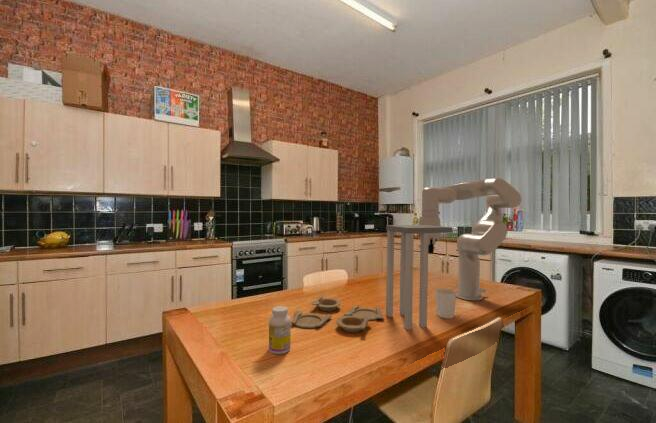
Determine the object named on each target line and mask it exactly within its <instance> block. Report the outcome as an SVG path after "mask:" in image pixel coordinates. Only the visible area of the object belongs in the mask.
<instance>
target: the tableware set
mask: <svg viewBox="0 0 656 423" xmlns="http://www.w3.org/2000/svg"><path fill="white" fill-rule="evenodd" d="M311 305H314V306H317V307H318V308H319V309H320V310H321V311H323V312H332V311H335V310H336V308H337V307H338V308H339V306H341V305H342V302H341V301H340V300H339V299H336V298H331V297H324V295H322V294H320V295H319V296H318V297H317V299H316V300H313V301H311ZM293 315H294V316H293V317H292V318H291V325H294V326H295V327H298V328H301V329H316V328H320V327H323V326H325V324H326V323H327V321H328V320H330V319H331V318H332V316H333V314H329V313H328V314H326V315H322V314H320V313H319V314H318V313H313V312H311V313H310V312H308V313H303V311H302V310H301V311H300V310H295V311H294V313H293ZM379 319H382V320H384V319H385V316H384V315H383V312H382V311H381V308H380V307H377V306H376V307H375V308H374V307H361V306H360V305H357V304H356V305H355V306H353V307H352V308H350V309H348V310H347V311H346V312H344V313H343V316H339V317H338V318H337V319H336V320H335V321H336V322H335V323H336V325H337V326H338V327H340V328H342V330H343V331H345V332H347V333H358V332H360V331H362V330H365V329H366V327H368V325H369V321H377V320H379Z"/></svg>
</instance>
